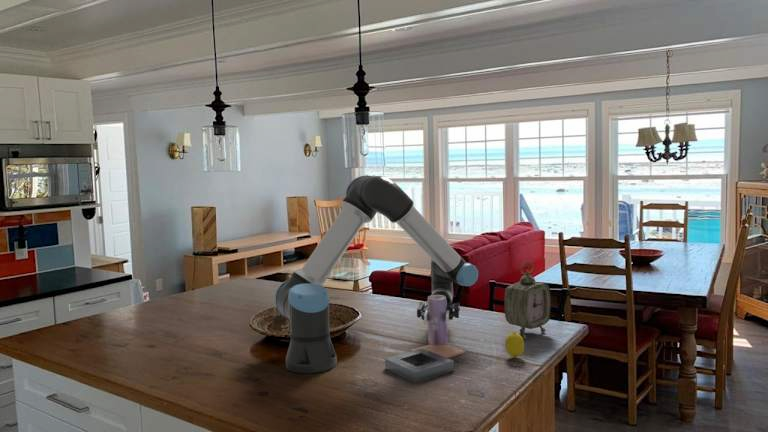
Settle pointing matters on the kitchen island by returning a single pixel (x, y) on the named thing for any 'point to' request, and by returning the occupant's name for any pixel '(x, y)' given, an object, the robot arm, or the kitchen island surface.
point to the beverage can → (437, 320)
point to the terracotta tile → (442, 350)
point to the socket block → (430, 369)
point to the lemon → (514, 344)
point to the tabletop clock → (527, 303)
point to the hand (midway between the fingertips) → (436, 320)
